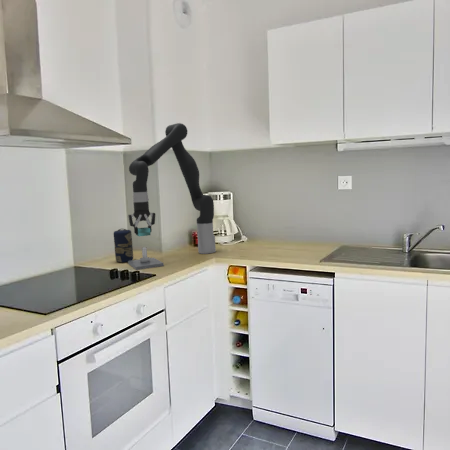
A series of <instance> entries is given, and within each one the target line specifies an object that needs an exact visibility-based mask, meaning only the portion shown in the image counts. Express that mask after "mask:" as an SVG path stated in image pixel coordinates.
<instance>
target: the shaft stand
mask: <svg viewBox="0 0 450 450" xmlns="http://www.w3.org/2000/svg"><path fill="white" fill-rule="evenodd" d="M141 254H142V255H141V257H140V258H139V259H133V260H131V261H128V262H127V264H128V265H129V266H130V267H132V268H133V269H135V270H137V271H138V270H145V269H153V268H158V267H164V265H165V263H164V262H162V261H161V260H159V259H158V258H156V257H150V256H149V257H148V249H147V247H145V246H143V247H141Z"/></svg>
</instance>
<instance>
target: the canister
mask: <svg viewBox="0 0 450 450" xmlns="http://www.w3.org/2000/svg"><path fill="white" fill-rule="evenodd" d="M113 245H114V254H115V261H116V262H117V263H118V262H119V263H126V262H127V263H128V261H131V260H134V250H133V247H134V246H133V235H132V230H130V229H125V228H120V229H118V230H114V231H113Z"/></svg>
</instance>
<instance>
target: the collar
mask: <svg viewBox="0 0 450 450" xmlns="http://www.w3.org/2000/svg"><path fill="white" fill-rule="evenodd" d="M151 233H152V232H151ZM151 233H150V228H148V226H147V227H138V235H136V236H137V237H147V236H151Z"/></svg>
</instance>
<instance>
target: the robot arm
mask: <svg viewBox="0 0 450 450" xmlns="http://www.w3.org/2000/svg"><path fill="white" fill-rule="evenodd" d="M164 132H165V137H164V138H163V139H161V140H160V141H158V142H157V143H155V144H154V145H152V146H150V148H148V150H146V151H145V153H142V155H140V156H139V157H136V159H135V160H133V161H132V162H131V163H130V164H129V168H128V171H129V174H131V175H132V176H136V177H135V180H134V181H133V182H132V192H133V193H132V194H133V195H132V198H133V199H132V202H133V213H132V214H128V215H127V218H128V222H129V226H131V227H133V232H134V233H133V234H135V236H137V235H138V228H139V227H138V225H139V223H140V222H142V221H143V222H144V221H145V222H146V224H147V227H148V228H150V233H152V230H153V229H152V226H153V225H156V213H155V212H150V205H149V204H150V203H149V193H148V185H147V183H148V179H149V172H150V171H149V166H152V165H155V163H156V162H157V161H158V160H160V159H161V157H162V156H163V155H165V154H166V153H167V152H169V150H171V149H172V152H173V153H174V156H175V159H176V161H177V163H178V167H179V169H180V172H181V174H182V176H183V177H184V178H183V179H184V181H185V183H186V184H185V185H186V187H187V189H188V192H189V195H190V199H191V202H192V206H193V207H194V208H195V210H197V211H199V212H200V213H199V216H198V217H197V218H196V231H197V233H196V235H197V251H198V253H199V254H202V255H203V254H206V255H207V254H212V253H216V252H217V251H216V250H217V249H216V235H214V217H215V204H214V203H215V202H214V199H213V197H212V196H211V195H207V194H203V192H202V189H201V187H200V170H199V167H198V165H197V162H196V159H195V158H194V157H193V156H192V155H191V154H190V153H189V152H188V151H187V149H186V148H185V146H184V143H183V140H185V139H186V138H187V137H188V128H187V126H186V125H185V124H183V123H181V122H179V123H178V122H176V123H174V124H169V125H168V126H167V127H165V131H164ZM149 217H151V220H150V219H149ZM134 218H135V220H134V222H133V219H134Z"/></svg>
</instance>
